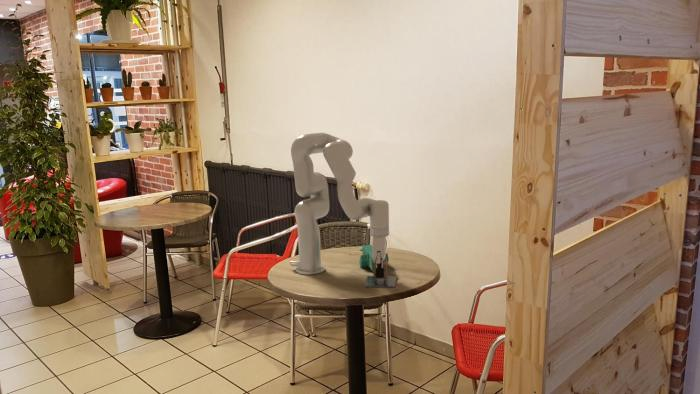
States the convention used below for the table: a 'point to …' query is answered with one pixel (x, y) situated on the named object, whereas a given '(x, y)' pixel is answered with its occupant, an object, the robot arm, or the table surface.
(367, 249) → the toy
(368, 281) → the grey base plate
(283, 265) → the table surface
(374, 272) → the tan cardboard carton
